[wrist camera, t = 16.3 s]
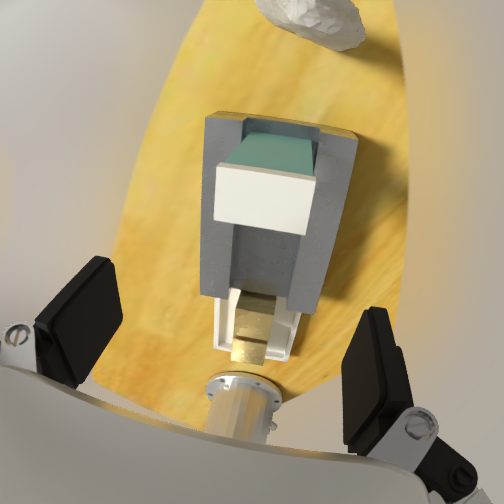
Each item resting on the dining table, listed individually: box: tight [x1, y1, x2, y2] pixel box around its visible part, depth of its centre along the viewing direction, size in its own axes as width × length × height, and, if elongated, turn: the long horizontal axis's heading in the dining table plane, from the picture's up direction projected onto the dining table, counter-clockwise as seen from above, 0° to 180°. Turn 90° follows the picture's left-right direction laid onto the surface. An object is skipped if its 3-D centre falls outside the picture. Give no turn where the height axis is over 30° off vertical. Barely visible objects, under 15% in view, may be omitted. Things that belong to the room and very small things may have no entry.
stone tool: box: [254, 0, 366, 51], centre depth 15 cm, size 8×3×15 cm, turn 69°
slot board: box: [200, 111, 359, 315], centre depth 29 cm, size 18×12×4 cm, turn 175°
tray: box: [214, 288, 301, 362], centre depth 39 cm, size 11×10×2 cm
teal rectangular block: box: [214, 131, 316, 235], centre depth 21 cm, size 3×5×11 cm, turn 85°
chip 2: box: [231, 334, 268, 366], centre depth 38 cm, size 4×4×4 cm
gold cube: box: [233, 290, 277, 341], centre depth 35 cm, size 4×4×4 cm
